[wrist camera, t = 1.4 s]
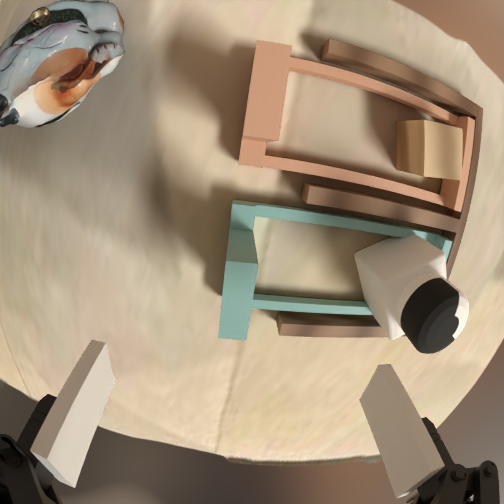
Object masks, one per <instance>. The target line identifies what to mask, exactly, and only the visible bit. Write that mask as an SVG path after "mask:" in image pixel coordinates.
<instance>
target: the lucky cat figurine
mask: <svg viewBox="0 0 504 504" xmlns="http://www.w3.org/2000/svg"><path fill="white" fill-rule="evenodd" d="M108 1H109V0H81V1H80V0H69V1H68V0H63V1H58V2H55V3H53V4H51V5H49V6H46V7H41V8H38V9H37V10H36V11H34V12H33V13H32V14H31V16H30V17H29V18H28V19H27V21H25V22H24V23H23V24H21V25H20V26H19V28H18V29H17V31H16V32H15V33H14V34H12V35H11V36H10V37H9V38H8V39H7V40H6V41H5V42H4V43H3V44H2V46H1V47H0V126H1V127H4V126H6V125H9V124H12V125H16V126H20V127H27V128H29V127H30V128H32V127H35V128H36V127H41V126H45V125H50V124H53V123H55V122H57V121H60V120H62V119H63V118H64V117H66V116H67V115H68V114H69V113H70V112H72V111H73V110H74V109H76V108H77V107H78V106H79V105H80V104H81V103H82V102H83V101H84V99H85V98H86V96H87V95H88V93H89V92H90V91H91V89H92V88H93V87H94V86H95V84H96V83H97V82H98V81H99V80H100V79H101V78H103V77H104V76H106V75H108V74H110V73H111V72H112V71H113V70H114V69H115V67H116V66H117V64H118V62H119V60H120V59H121V57H122V56H123V54H124V53H125V50H124V46H122V37H121V34H122V33H123V31H124V21H123V19H122V17H121V16H120V14H119V11H118V9H117V7H116V6H115V5H114V4H113V3H109V2H108Z"/></svg>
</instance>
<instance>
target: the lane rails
mask: <svg viewBox="0 0 504 504" xmlns="http://www.w3.org/2000/svg"><path fill="white" fill-rule="evenodd" d="M320 60H321V61H325V62H329V63H333V64H336V65H340V66H344V67H347V68H350V69H354V70H357V71H360V72H363V73H366V74H369V75H372V76H375V77H377V78H380V79H383V80H386V81H388V82H391V83H393V84H396V85H398V86H401V87H403V88H406V89H408V90H410V91H413V92H415V93H417V94H419V95H421V96H424V97H426V98H428V99H430V100H432V101H434V102H436V103H438V104H440V105H442V106H444V107H446V108H448V109H450V110H452V111H453V112H455V113H457V114H459V115H461V116H462V117H470V118H471V119H473V120H475V128H474V139H473V148H472V156H471V163H470V169H469V175H468V181H467V186H466V192H465V196H464V201H463V206H462V210H461V212H459V211H456V210H453V209H451V208H448V211H447V214H446V213H442V212H439V211H435V210H431V209H428V208H424V207H420V206H416V205H412V204H408V203H404V202H400V201H396V200H391V199H387V198H383V197H378V196H374V195H369V194H364V193H360V192H355V191H350V190H345V189H340V188H334V187H329V186H323V185H318V184H312V183H306V182H303V186H302V192H301V199H302V200H303V201H305V202H306V203H308V204H314V205H321V206H327V207H333V208H339V209H345V210H350V211H356V212H361V213H367V214H372V215H377V216H383V217H388V218H393V219H398V220H402V221H407V222H412V223H417V224H421V225H426V226H430V227H434V228H439V229H443V231H442V234H441V235H442V236H444V237H445V238H447V239H449V240H451V241H452V245H451V248H450V251H449V255H448V258H447V261H446V277H447V280H448V279H449V276H450V273H451V270H452V267H453V265H454V262H455V259H456V255H457V252H458V249H459V246H460V243H461V239H462V236H463V232H464V228H465V225H466V221H467V217H468V213H469V208H470V204H471V199H472V195H473V190H474V184H475V179H476V173H477V166H478V159H479V152H480V143H481V132H482V117H483V108H481V107H480V106H478V105H477V104H475V103H474V102H472V101H471V100H469V99H467V98H466V97H464V96H463V95H461V94H459V93H458V92H456V91H454V90H453V89H451V88H449V87H447V86H445V85H444V84H442V83H440V82H438V81H436V80H434V79H432V78H430V77H428V76H427V75H425V74H422V73H420V72H418V71H416V70H414V69H412V68H410V67H408V66H405V65H403V64H401V63H398V62H396V61H394V60H391V59H389V58H386V57H384V56H381V55H379V54H376V53H373V52H370V51H368V50H365V49H362V48H359V47H356V46H353V45H350V44H346V43H343V42H340V41H336V40H333V39H329V40H328V41H327V42H326V43H325V44H324V45H323V46H322V50H321V59H320ZM276 322H277V327H278V332H279V335H283V336H304V337H388V336H387V335H386V333H385V332H384V330H383V329H382V328H381V326H380V325H379V323H378V322H377V320H376V319H375V318H374V316H373V315H356V314H331V313H311V312H295V311H281V310H279V312H278V316H277V321H276ZM402 336H406V335H405V334H404V335H402ZM400 337H401V336H400Z"/></svg>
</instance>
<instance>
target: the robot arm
mask: <svg viewBox="0 0 504 504" xmlns="http://www.w3.org/2000/svg"><path fill="white" fill-rule="evenodd" d="M114 384H115V380H114V376H113V372H112V368H111V364H110V360H109V355H108V351H107V346H106V343H104V342H99V341H95V340H91V342H90V343H89V345H88V347H87V348H86V350H85V351H84V353H83V354H82V356H81V358H80V359H79V361H78V363H77V364H76V366H75V368H74V369H73V371H72V372H71V374H70V376H69V378H68V379H67V381H66V383H65V384H64V386H63V388H62V390H61V391H60V393H59V395H58V397H55V396H52V395H50V394H47V395H46V396H45V397H43V398H42V399H41V400H40V401H39V403H38V404H37V406H36V408H35V411H33V413H32V415H31V418H29V420H28V422H27V424H26V426H25V428H24V429H23V431H22V433H21V435H20V437H19V439H18V441H17V442H15V441H14V440H13V439H12V438H11V437H10V436H8V435H6V434H0V504H63V503H62V501H61V499H60V497H59V495H58V493H57V490H56V488H55V485H54V483H53V482H52V479H53V476H55V477H56V478H57V479H58V480H59V481H60V482H63V483H65V484H67V485H70V486H72V487H74V488H75V486H76V483H77V479H78V477H79V474H80V471H81V468H82V465H83V462H84V459H85V457H86V454H87V451H88V448H89V446H90V443H91V440H92V437H93V435H94V432H95V430H96V427H97V425H98V422H99V420H100V417H101V415H102V412H103V410H104V407H105V405H106V403H107V400H108V398H109V395H110V393H111V391H112V388H113V386H114ZM360 403H361V405H362V408H363V410H364V413H365V415H366V418H367V420H368V423H369V425H370V428H371V431H372V433H373V436H374V438H375V441H376V444H377V446H378V449H379V452H380V454H381V457H382V460H383V462H384V465H385V468H386V471H387V474H388V476H389V479H390V482H391V485H392V488H393V491H394V494H395V496H396V498H399V497H402V496H405V495H408V494H410V493H412V492H413V491H414V490H415V489H417V490H418V493H416V494H415V495H413V496H412V497H411V498H409V499H408V500H407V503H409V502H410V501H412V500H413V499H414V500H413V502H412V503H411V504H500V500H499V480H498V470H497V467H496V465H495V463H493V462H492V461H484V462H483V463H482V464H481V465H480V466H479V467H474V468H465V467H464V466H462V465H460V464H455V463H454V462H453V461H452V459H451V457H450V455H449V453H448V451H447V449H446V447H445V445H444V443H443V441H442V440H441V437H440V435H439V434H438V433H437V430H436V428H435V426H434V424H433V423H432V422H431V421H430V420H429V419H428V418H427V417H425V418H421V417H420V415H419V414H418V412H417V410H416V408H415V406H414V404H413V403H412V401H411V399H410V397H409V395H408V394H407V392H406V390H405V388H404V386H403V385H402V383H401V381H400V379H399V378H398V376H397V374H396V373H395V371H394V369H393V367H392V366H391V364H385V365H378V367H377V369H376V371H375V373H374V375H373V377H372V378H371V380H370V382H369V384H368V386H367V388H366V389H365V391H364V393H363V395H362V396H361V398H360ZM473 495H474V498H473V501H471V500H470V497H472V496H473Z"/></svg>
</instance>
